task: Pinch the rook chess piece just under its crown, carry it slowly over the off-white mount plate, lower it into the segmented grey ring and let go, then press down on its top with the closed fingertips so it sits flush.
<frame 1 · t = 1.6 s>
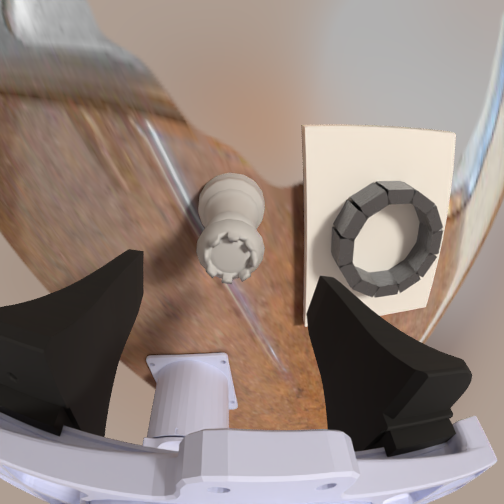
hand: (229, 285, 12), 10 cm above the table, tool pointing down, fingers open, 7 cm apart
mount plate: (378, 229, 23), on the table
rook chess piece: (231, 201, 21), on the table
segmented grey ring: (389, 240, 21), on the mount plate, point 1 cm above the table
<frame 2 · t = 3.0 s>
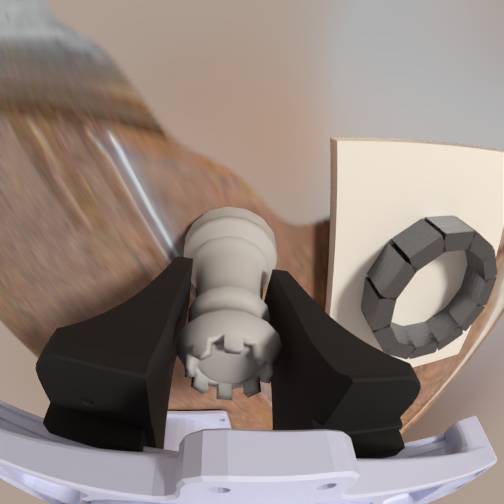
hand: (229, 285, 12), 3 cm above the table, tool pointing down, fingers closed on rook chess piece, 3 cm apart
mount plate: (418, 273, 17), on the table
rook chess piece: (230, 244, 15), on the table, touching gripper
segmented grey ring: (434, 292, 15), on the mount plate, point 1 cm above the table
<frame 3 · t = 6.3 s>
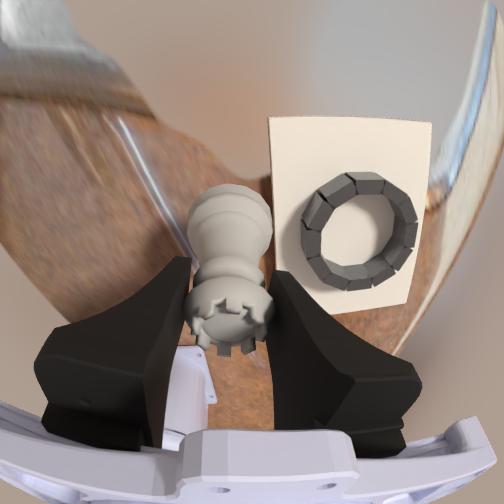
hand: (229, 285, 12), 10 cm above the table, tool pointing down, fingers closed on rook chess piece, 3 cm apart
mount plate: (351, 222, 23), on the table
rook chess piece: (229, 217, 17), point 5 cm above the table, touching gripper
segmented grey ring: (360, 233, 21), on the mount plate, point 1 cm above the table
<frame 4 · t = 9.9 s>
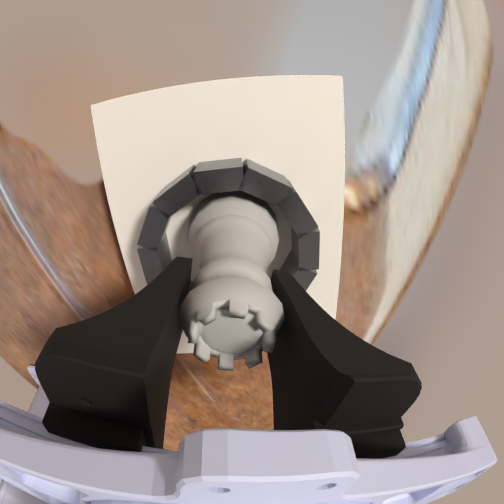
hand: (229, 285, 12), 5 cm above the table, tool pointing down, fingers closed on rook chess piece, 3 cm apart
mount plate: (229, 232, 17), on the table
rook chess piece: (233, 226, 16), point 1 cm above the table, touching gripper, mount plate
segmented grey ring: (229, 249, 15), on the mount plate, point 1 cm above the table
when the fingers open (5 cm above the table, at t = 10.3 s): rook chess piece stays where it is, resting on mount plate.
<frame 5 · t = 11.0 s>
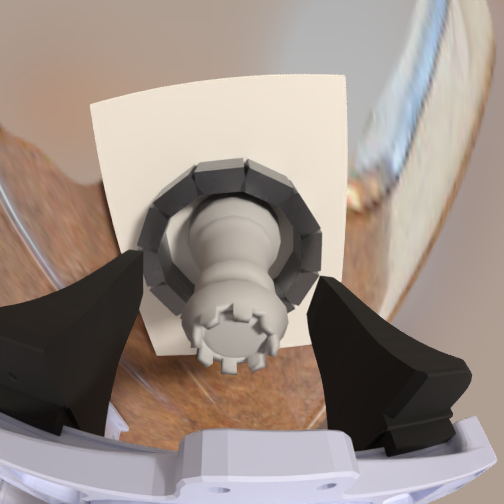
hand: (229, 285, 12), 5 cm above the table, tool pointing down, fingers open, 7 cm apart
mount plate: (230, 233, 17), on the table
rook chess piece: (234, 227, 16), point 1 cm above the table, touching mount plate
segmented grey ring: (230, 250, 15), on the mount plate, point 1 cm above the table
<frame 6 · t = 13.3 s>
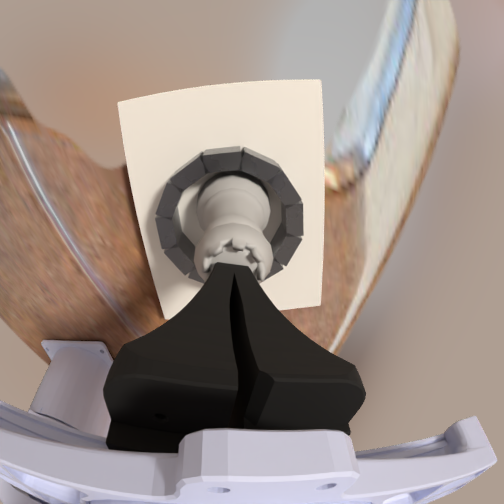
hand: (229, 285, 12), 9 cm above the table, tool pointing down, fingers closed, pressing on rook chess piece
mount plate: (230, 208, 20), on the table
rook chess piece: (233, 202, 19), point 1 cm above the table, touching gripper, mount plate
segmented grey ring: (230, 219, 18), on the mount plate, point 1 cm above the table
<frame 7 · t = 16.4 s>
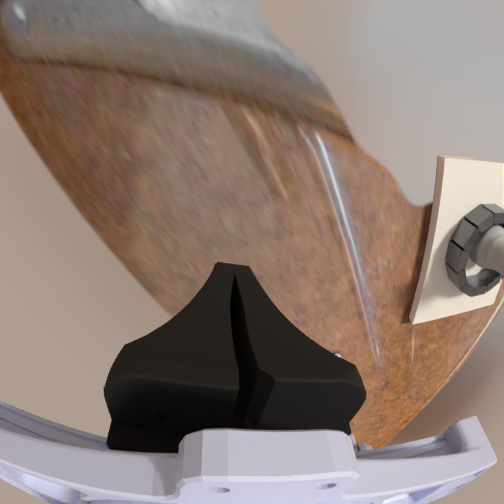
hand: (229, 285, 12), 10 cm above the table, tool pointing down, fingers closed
mount plate: (472, 241, 24), on the table
rook chess piece: (480, 238, 23), point 1 cm above the table, touching mount plate
segmented grey ring: (484, 251, 22), on the mount plate, point 1 cm above the table
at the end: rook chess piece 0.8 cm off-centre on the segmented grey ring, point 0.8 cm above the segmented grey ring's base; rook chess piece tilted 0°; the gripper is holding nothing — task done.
